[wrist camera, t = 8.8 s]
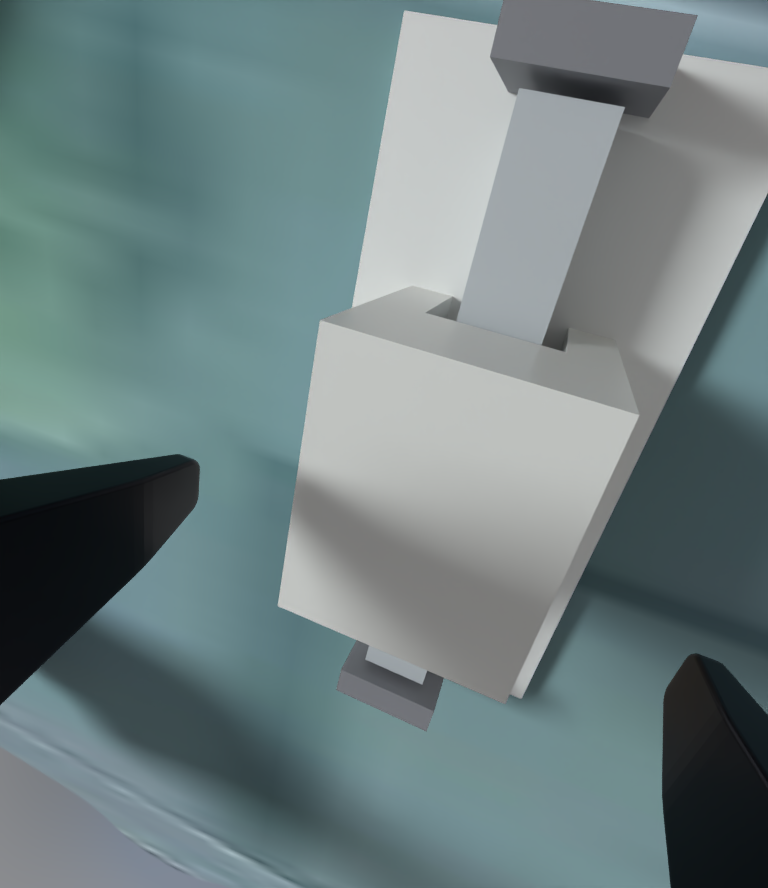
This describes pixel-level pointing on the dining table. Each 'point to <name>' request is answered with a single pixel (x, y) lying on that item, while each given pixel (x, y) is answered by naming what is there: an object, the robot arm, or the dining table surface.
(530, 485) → the grey slotted block
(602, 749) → the dining table surface
